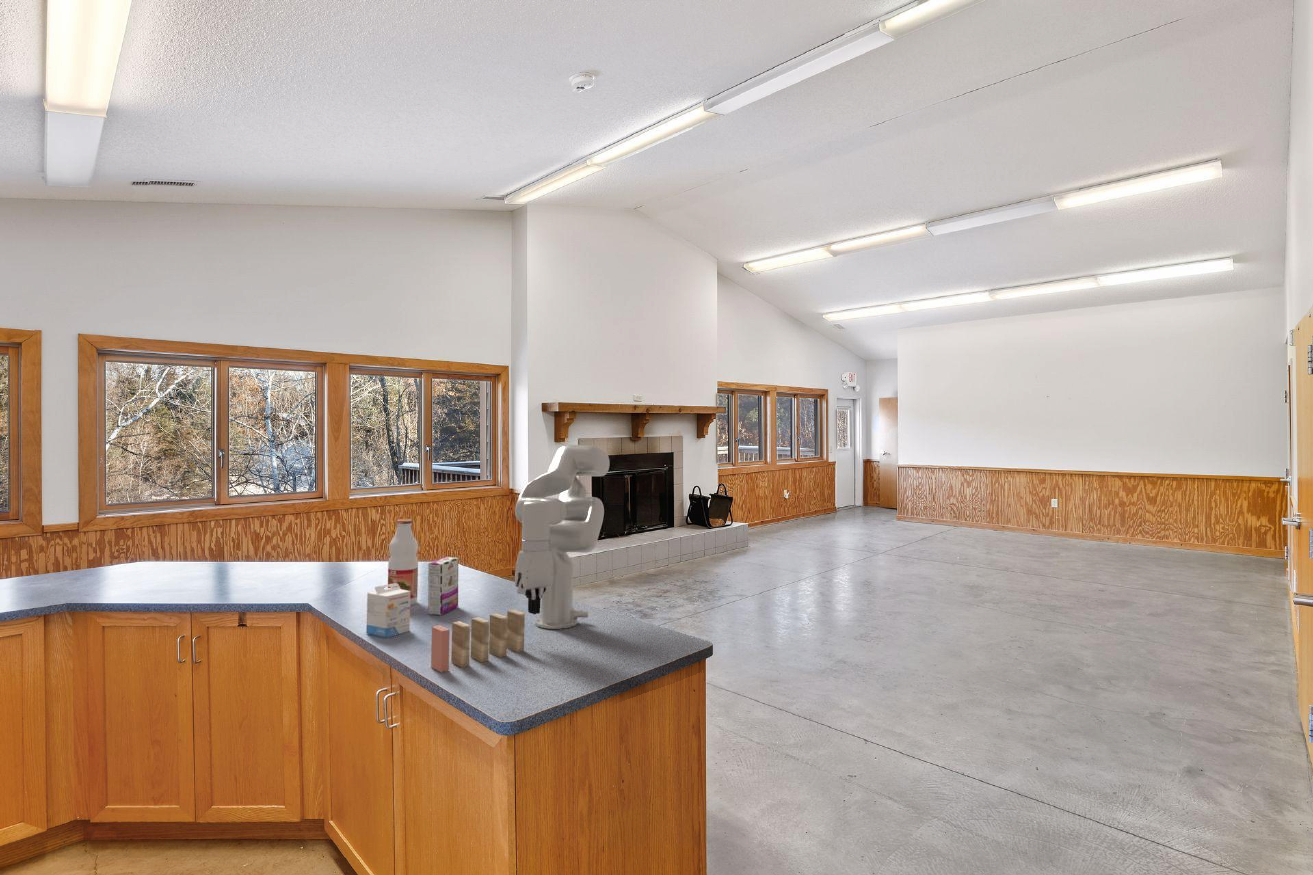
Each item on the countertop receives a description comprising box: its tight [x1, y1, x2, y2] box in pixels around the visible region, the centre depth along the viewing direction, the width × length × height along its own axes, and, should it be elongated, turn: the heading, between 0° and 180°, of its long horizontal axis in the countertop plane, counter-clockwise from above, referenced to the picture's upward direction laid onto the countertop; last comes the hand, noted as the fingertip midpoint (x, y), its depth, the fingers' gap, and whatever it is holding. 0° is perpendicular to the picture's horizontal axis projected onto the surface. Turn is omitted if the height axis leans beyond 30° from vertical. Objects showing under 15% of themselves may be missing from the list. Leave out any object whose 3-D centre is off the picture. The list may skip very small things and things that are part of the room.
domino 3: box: [470, 616, 490, 663], centre depth 172 cm, size 2×5×10 cm, turn 47°
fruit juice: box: [387, 518, 419, 606], centre depth 225 cm, size 9×9×28 cm
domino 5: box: [506, 609, 526, 653], centre depth 180 cm, size 2×5×10 cm, turn 47°
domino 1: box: [430, 624, 451, 673], centre depth 164 cm, size 2×5×10 cm, turn 46°
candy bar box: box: [427, 556, 459, 616], centre depth 217 cm, size 11×5×16 cm, turn 168°
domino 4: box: [488, 613, 508, 658], centre depth 176 cm, size 2×5×10 cm, turn 47°
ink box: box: [365, 583, 411, 639], centre depth 193 cm, size 9×8×13 cm
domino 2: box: [450, 620, 471, 668], centre depth 168 cm, size 2×5×10 cm, turn 47°
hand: (534, 612), depth 184 cm, fingers closed
